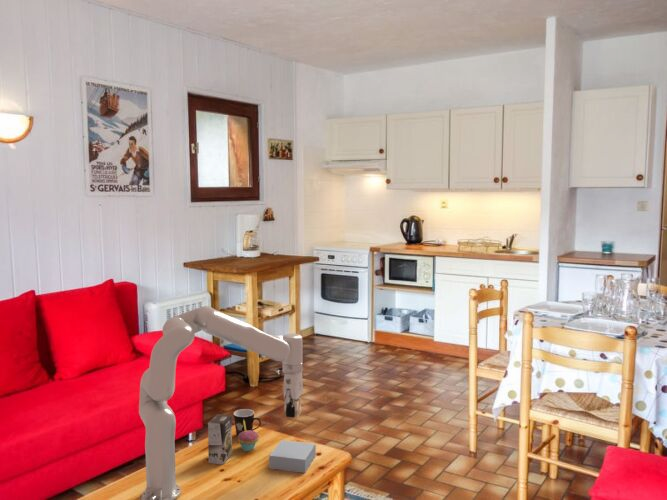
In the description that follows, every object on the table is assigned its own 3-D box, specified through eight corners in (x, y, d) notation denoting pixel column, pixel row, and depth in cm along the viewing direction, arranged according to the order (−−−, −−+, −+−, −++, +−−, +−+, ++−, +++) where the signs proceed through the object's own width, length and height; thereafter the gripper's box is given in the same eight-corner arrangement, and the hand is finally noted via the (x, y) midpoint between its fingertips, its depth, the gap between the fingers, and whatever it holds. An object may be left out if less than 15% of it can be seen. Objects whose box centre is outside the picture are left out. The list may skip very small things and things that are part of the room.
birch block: (297, 418, 219) (297, 402, 218) (284, 417, 220) (284, 401, 220) (301, 413, 224) (301, 398, 223) (288, 412, 225) (288, 397, 224)
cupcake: (233, 451, 233) (233, 422, 232) (243, 442, 241) (242, 414, 240) (253, 454, 230) (253, 424, 229) (262, 445, 238) (262, 416, 237)
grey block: (305, 472, 216) (305, 459, 215) (269, 468, 219) (269, 455, 218) (315, 456, 229) (315, 443, 229) (281, 452, 232) (281, 440, 232)
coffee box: (224, 464, 222) (223, 423, 220) (208, 463, 223) (207, 422, 221) (232, 454, 231) (232, 414, 229) (217, 452, 232) (216, 413, 230)
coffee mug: (230, 435, 248) (229, 412, 247) (247, 429, 254) (246, 407, 253) (245, 444, 239) (244, 420, 238) (262, 438, 245) (262, 415, 244)
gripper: (295, 374, 211) (295, 423, 213) (308, 361, 227) (308, 406, 229) (275, 373, 213) (275, 421, 215) (290, 360, 229) (290, 405, 231)
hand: (292, 413), depth 222 cm, fingers closed on birch block, 5 cm apart
